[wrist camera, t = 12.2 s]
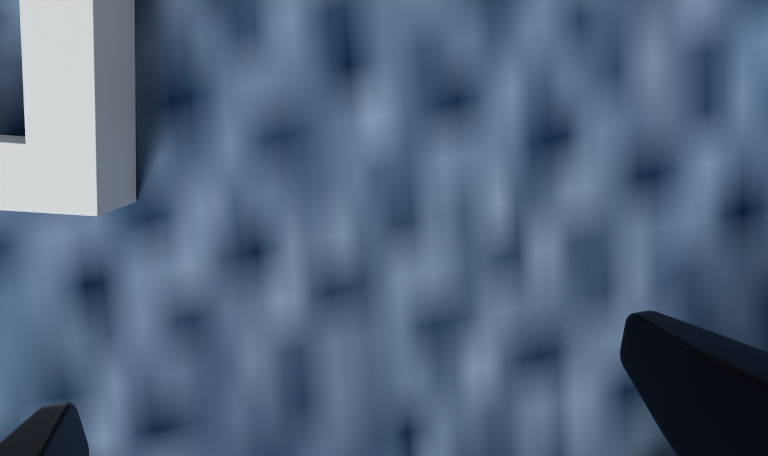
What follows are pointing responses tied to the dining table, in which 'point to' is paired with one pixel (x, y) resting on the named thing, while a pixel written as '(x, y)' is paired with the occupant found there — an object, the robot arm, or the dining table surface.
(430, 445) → the dining table surface
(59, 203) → the holder sleeve
